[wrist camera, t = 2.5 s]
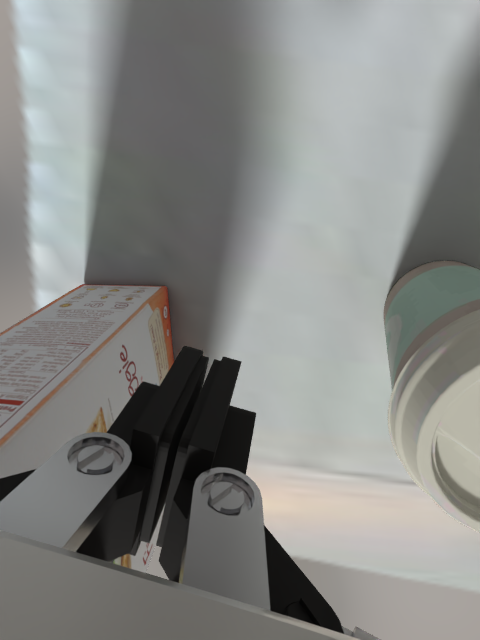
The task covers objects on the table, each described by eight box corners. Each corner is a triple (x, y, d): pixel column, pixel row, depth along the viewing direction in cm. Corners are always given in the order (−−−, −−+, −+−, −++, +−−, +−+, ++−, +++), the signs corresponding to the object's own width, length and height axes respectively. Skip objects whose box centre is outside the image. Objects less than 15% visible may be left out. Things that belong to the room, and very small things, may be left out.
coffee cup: (342, 261, 24) (371, 362, 13) (511, 212, 21) (725, 283, 10) (377, 391, 26) (425, 568, 15) (530, 360, 24) (717, 539, 13)
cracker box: (191, 468, 31) (-5, 1001, 12) (112, 461, 32) (-191, 945, 12) (175, 281, 26) (-230, 688, 6) (81, 279, 26) (-523, 631, 7)
